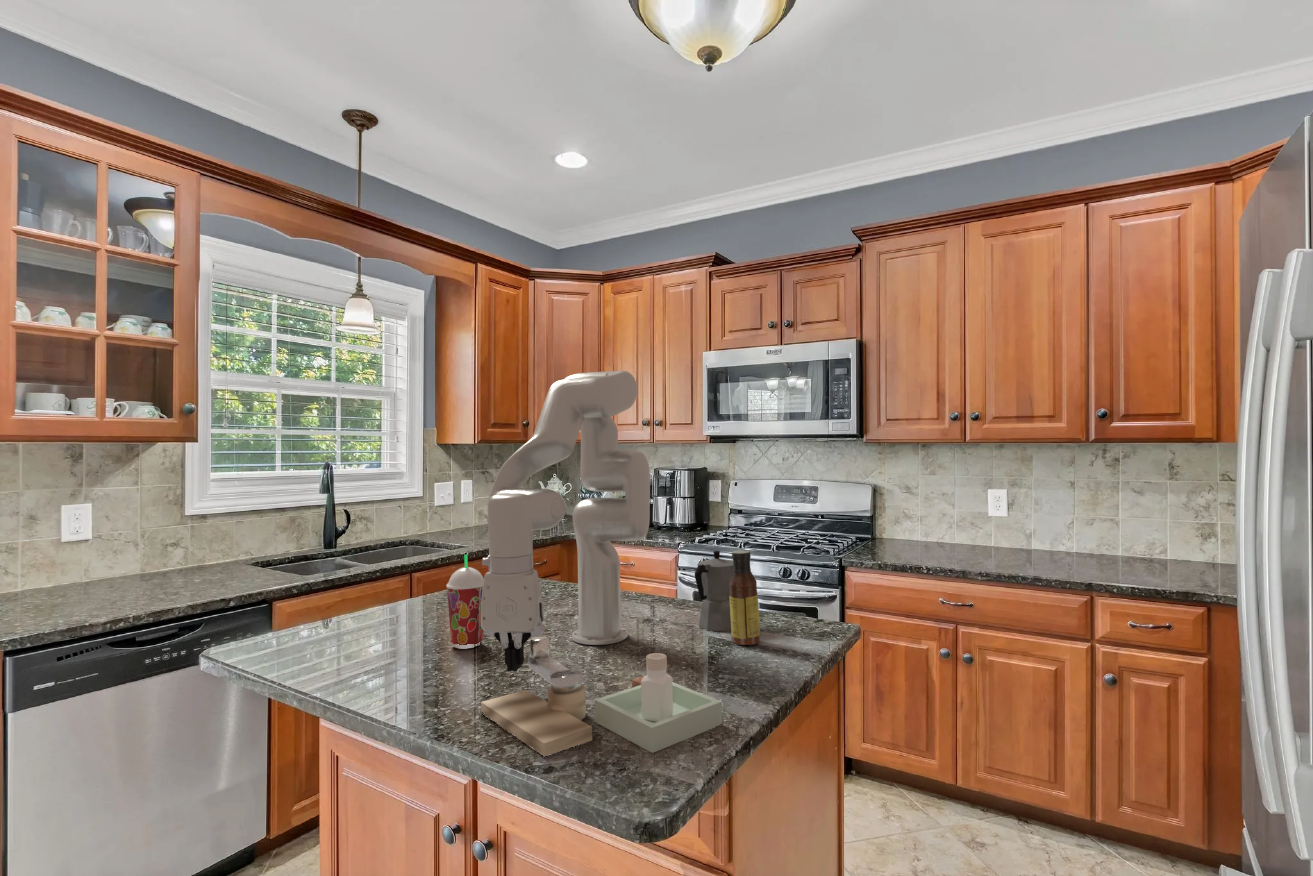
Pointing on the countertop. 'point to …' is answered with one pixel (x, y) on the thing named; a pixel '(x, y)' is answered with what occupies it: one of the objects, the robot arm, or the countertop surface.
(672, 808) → the countertop surface
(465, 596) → the smoothie
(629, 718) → the tray
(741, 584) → the sauce bottle
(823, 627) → the countertop surface
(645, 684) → the salt shaker
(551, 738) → the base
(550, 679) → the crank arm
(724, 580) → the coffeepot
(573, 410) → the robot arm
